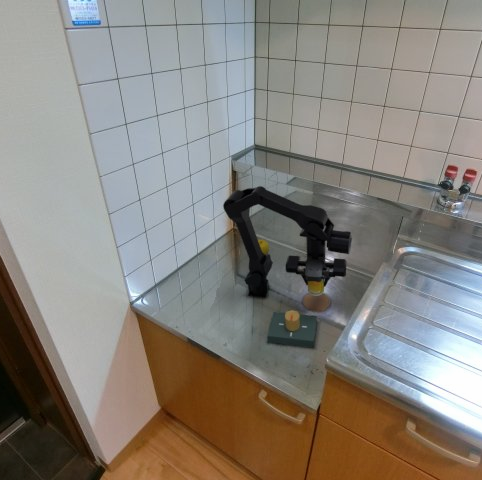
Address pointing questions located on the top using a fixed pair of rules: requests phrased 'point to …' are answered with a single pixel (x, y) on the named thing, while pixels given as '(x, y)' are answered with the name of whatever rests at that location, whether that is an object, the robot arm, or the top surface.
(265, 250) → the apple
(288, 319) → the tap knob
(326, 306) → the coaster
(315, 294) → the supplement bottle
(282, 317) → the green dial base
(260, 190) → the robot arm
